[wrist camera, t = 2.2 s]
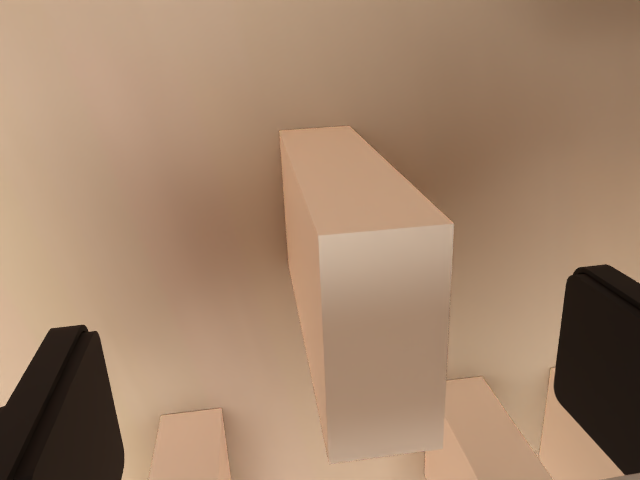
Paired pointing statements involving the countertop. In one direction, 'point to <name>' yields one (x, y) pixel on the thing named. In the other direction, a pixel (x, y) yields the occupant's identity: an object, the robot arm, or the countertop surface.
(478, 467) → the domino
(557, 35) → the countertop surface
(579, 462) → the domino
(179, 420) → the domino
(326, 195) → the tile
